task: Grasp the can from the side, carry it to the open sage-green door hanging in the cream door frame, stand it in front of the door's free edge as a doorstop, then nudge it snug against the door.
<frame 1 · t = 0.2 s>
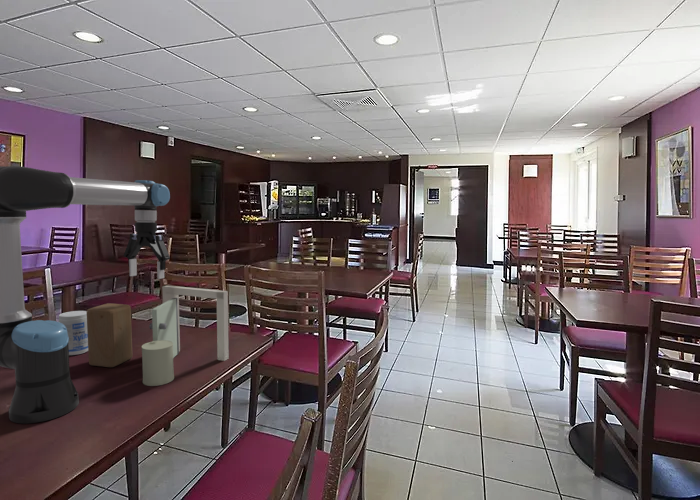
hand: (146, 277, 159), 28 cm above the table, tool pointing down, fingers open, 13 cm apart
wooden block: (111, 362, 146), on the table
door frame: (175, 351, 157), on the table
can: (158, 380, 132), on the table
supplement tub: (75, 352, 155), on the table
door: (166, 332, 145), point 11 cm above the table, hinge at 70.0°
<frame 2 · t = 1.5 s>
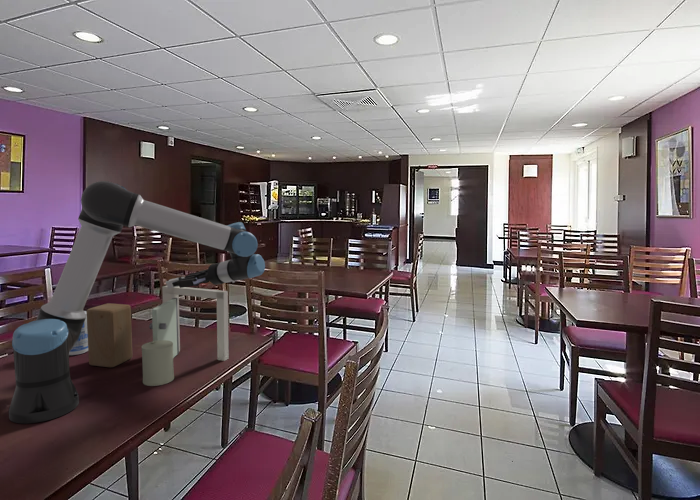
hand: (169, 284, 152), 26 cm above the table, tool horizontal, fingers closed
nothing on the table moved.
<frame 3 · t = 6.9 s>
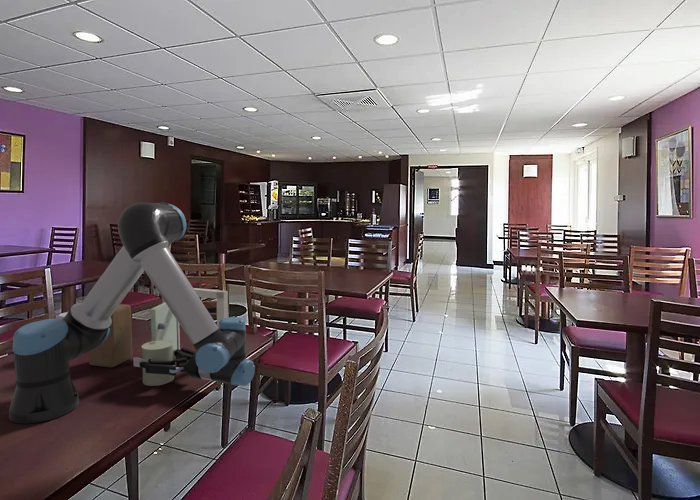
hand: (146, 356, 132), 7 cm above the table, tool horizontal, fingers closed on can, 9 cm apart
can: (158, 380, 132), on the table, touching gripper
door: (165, 332, 145), point 11 cm above the table, hinge at 71.4°
everything else where it was.
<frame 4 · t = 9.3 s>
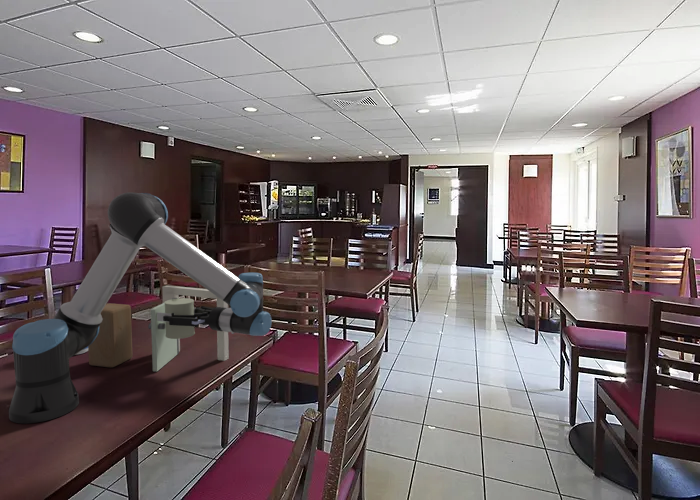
hand: (168, 312, 141), 19 cm above the table, tool horizontal, fingers closed on can, 9 cm apart
can: (180, 335, 140), point 12 cm above the table, touching gripper
everything else where it was.
when the fingers open (8 cm above the table, at t = 11.8 s): can stays where it is, on the table.
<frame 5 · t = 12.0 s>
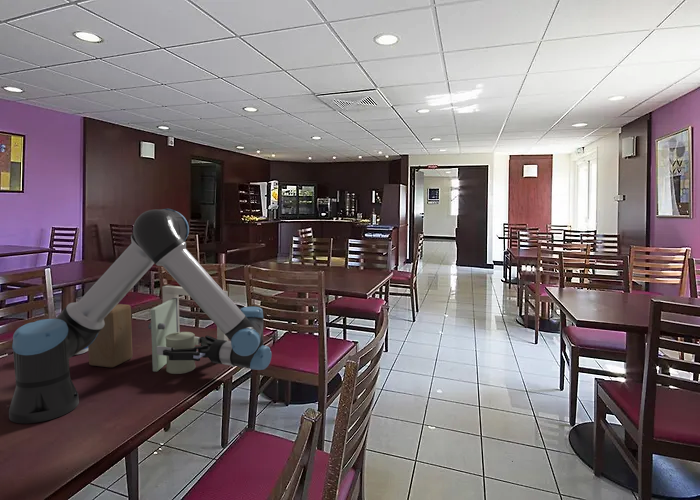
hand: (171, 344, 141), 8 cm above the table, tool horizontal, fingers open, 11 cm apart
can: (181, 369, 141), on the table
everything else where it was.
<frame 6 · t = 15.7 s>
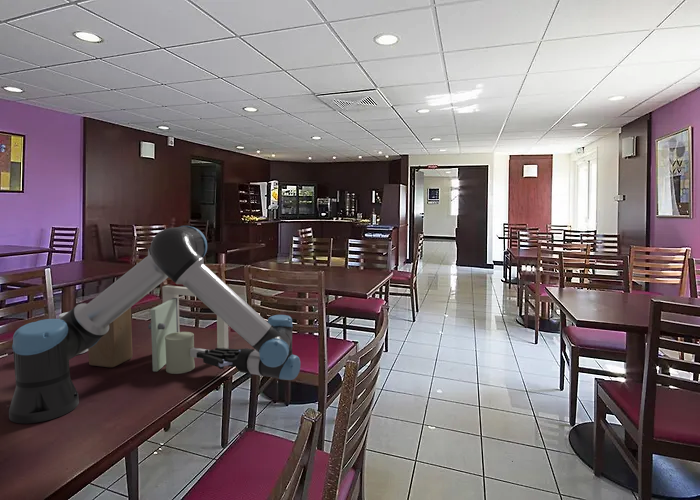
hand: (191, 352, 139), 6 cm above the table, tool horizontal, fingers closed
can: (180, 369, 141), on the table, touching gripper
everything else where it was.
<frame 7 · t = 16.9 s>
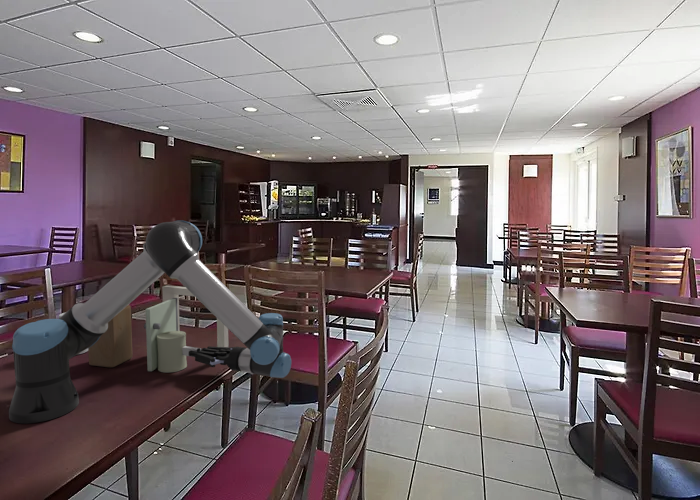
hand: (183, 350, 140), 6 cm above the table, tool horizontal, fingers closed
can: (172, 367, 142), on the table, touching door, gripper
door: (163, 332, 145), point 11 cm above the table, hinge at 77.6°, touching can
everything else where it was.
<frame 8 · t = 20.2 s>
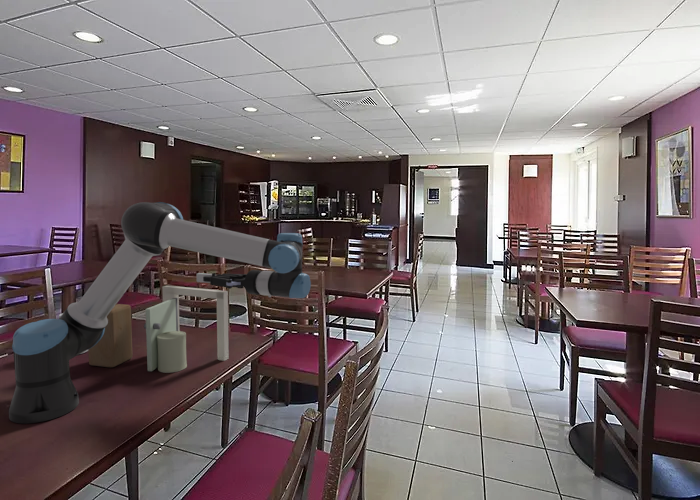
hand: (198, 277, 135), 32 cm above the table, tool horizontal, fingers closed
can: (172, 368, 142), on the table
door: (163, 332, 145), point 11 cm above the table, hinge at 77.6°
everything else where it was.
at the end: can inside the target area (2.5 cm from its centre), on the table; door at +78° (first picture: +70°); can tilted 0° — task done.
